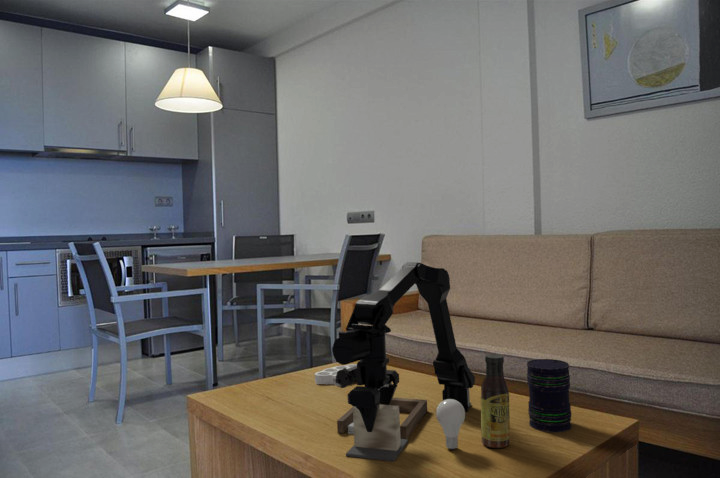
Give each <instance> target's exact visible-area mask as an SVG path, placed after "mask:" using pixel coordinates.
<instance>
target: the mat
mask: <svg viewBox="0 0 720 478" xmlns="http://www.w3.org/2000/svg"><path fill="white" fill-rule="evenodd" d="M408 443H409V439H408V438H407V439H401V446H400V448H399V449H398V450H397V451H393V450H383V449H373V448H363V447H354V444H353V445H352V447H351V448H349V450H347V452H346V453H345V456H346V457H350V458H360V459H369V460H378V461H386V462H387V461H388V462H395V461H396V460H397V458H398V457H399V456H400V454H401V452H402V451H403V450H404V448H406V445H407V444H408Z"/></svg>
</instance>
